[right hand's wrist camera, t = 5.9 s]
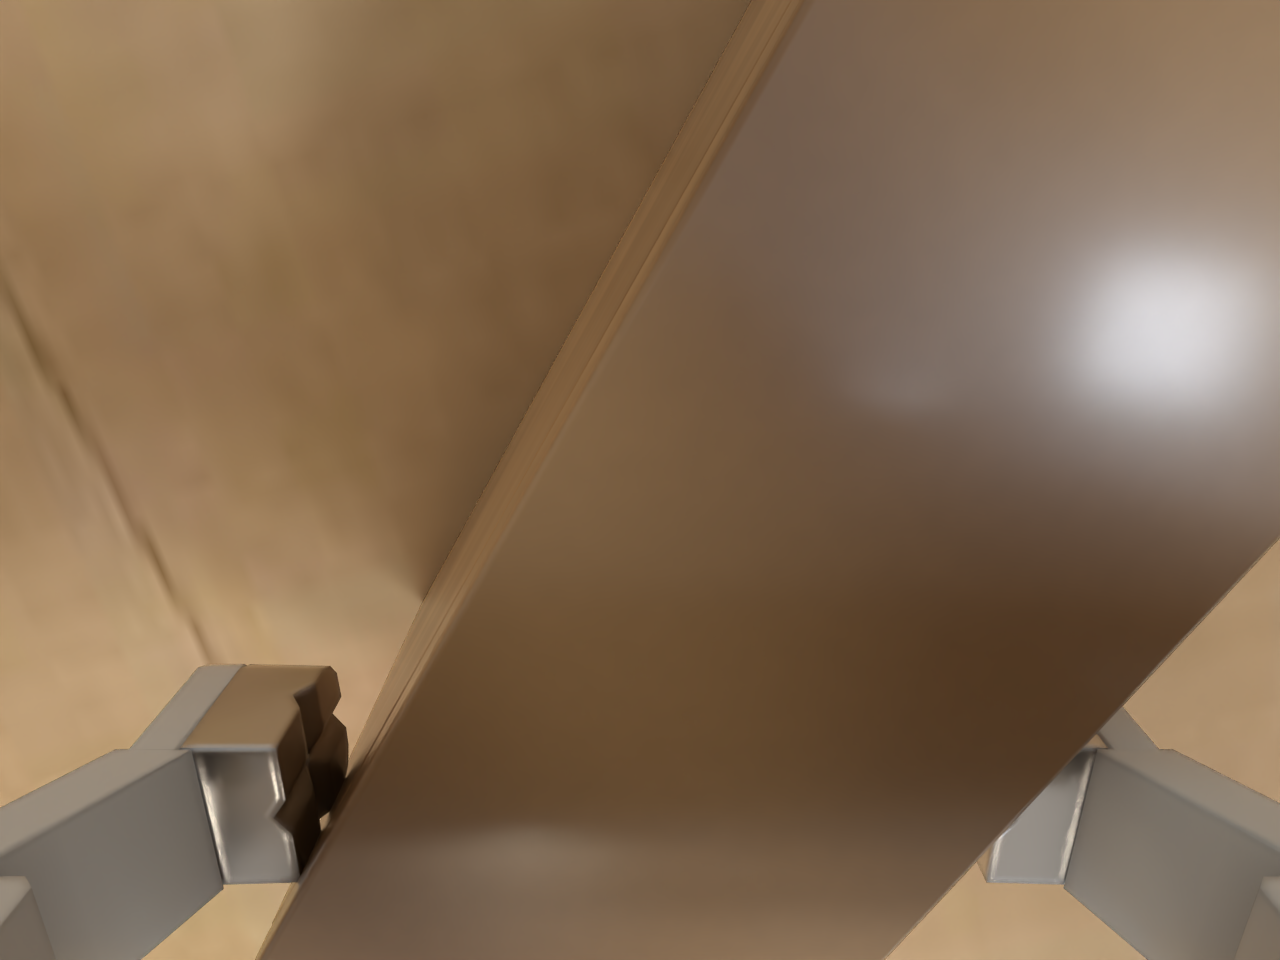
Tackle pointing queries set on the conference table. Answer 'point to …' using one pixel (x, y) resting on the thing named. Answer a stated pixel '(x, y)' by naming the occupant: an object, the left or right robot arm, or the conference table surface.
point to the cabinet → (840, 494)
